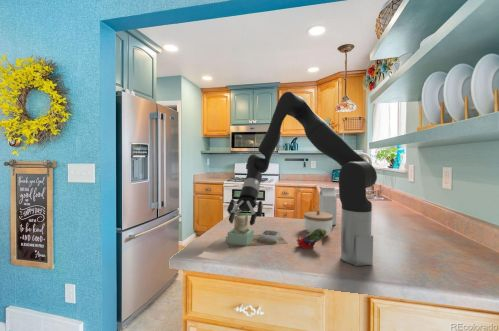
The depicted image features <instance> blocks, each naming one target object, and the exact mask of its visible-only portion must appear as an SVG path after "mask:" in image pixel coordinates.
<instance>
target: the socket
mask: <svg viewBox="0 0 499 331" xmlns="http://www.w3.org/2000/svg"><path fill="white" fill-rule="evenodd" d="M254 230H255V229H254V228H248V232H247V233H246V234H242V233H234V228H232V229H231V230H229V231H228V232H227V236H226V237H227V240H226V243H230V244H237V245H245V246H246V247H248V246H247V245H248V244H249V243H250V242H251V241H252V240H253V239H254V235H255V234H254Z"/></svg>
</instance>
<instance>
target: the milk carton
mask: <svg viewBox="0 0 499 331" xmlns="http://www.w3.org/2000/svg"><path fill="white" fill-rule="evenodd" d="M335 189H336V188H335V186H334V187H332V186H331V187H327V186H321V187H320V191H319V195H318V198H319V199H318V210H320V212H325V213H329V214H331V215H333V224H332V226H333V225H334V226H335V225H337V208H338V207H337V206H338V205H337V204H338V202H337V201H338V198H337V197H338V196H337V193H336V190H335Z"/></svg>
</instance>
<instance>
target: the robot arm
mask: <svg viewBox="0 0 499 331" xmlns="http://www.w3.org/2000/svg"><path fill="white" fill-rule="evenodd" d="M287 116H289V117H292V118H294V119H295V120H297V122H299V124H300V125H301V126H302V127H303V129H304V133H305V136H306V138H307V139H308V140H309V142H310V143H311V144H312V145H313V146H314V147H315V148H316V149H317V150H318V151H319V152H321V153H322V154H324V155H325V156H327V157H328V158H330V159H332V160H333V161H335V162H336V163H337V164H339V166H341V167H340V169H339V174H338V191H339V192H338V195H339V200H340V202H341V203H340V204H341V228H340V230H341V234H340V235H341V236H340V237H341V239H340V242H341V244H340V258H341V260H343V262H345V263H347V264H350V265H353V266H354V267H360V266H361V267H362V266H371V265H373V259H374V258H373V257H374V236H373V235H372V219H373V218H372V214H373V212H372V210H373V205H372V202H371V200H369V199H368V198H367V188H370V187H372V186H374V185H376V182H377V179H378V173H377V171H376V169H375V167H374V166H373V165H372V164H371V163H370V162H369V161H367V160H366V159H365V158H364V157H363V156H361V155H360V154H358V153H357V152H356V151H355V150H354V149H353V148H352V147H351V146H349V144H348V143H347V142H346V141H345V140H344V139H343V138H342V137H341V136H340V135H339V134H338V133H337V132H336V130H334V129H333V128H332V127H331V125H329V124H328V122H326V121H325V120H324V119H323V118H321V117H320V116H319V115H318V114H317V113H316V112H315V111H313V109H312V108H311V107H310V105H309V104H308V103H307V102H306V100H305V99H304V98H303V97H302V96H300V95H298V94H296V93H294V92H291V91H286V92H283V94H282V95H281V96H280V97H279V99H278V100H277V103H276V106H275V109H274V112H273V115H272V117H271V120H270V123H269V126H268V129H267V131H266V133H265V134H264V137H263V139H262V140H261V143H260V144H259V146H258V149H257V150H258V152H259V153H260V154H262V156H264V157H261V156H259V155H257V154H255V153H254V154H251V155H249V157H248V158H247V160H246V161H247V162H246V168H247V169H246V172H247V173H246V176H245V179H244V181H243V184H242V188H241V191H240V193H239V196H238V200H234V199H233V198H232V199H231V200H230V202H229V204H228V207H227V209H226V211H227V213H228V215H229V216H228V221H229V224H233V223H234V217H235V216H236V215H238V214H240V212H243V213H244V212H246V213H249V212H250V213H251V215H250V220H249V225H250V226H253V225H255V222H256V219H257V217H262V213H263V209H264V208H263V207H264V205H263V201H262V200H259V201H258V200H257V199H258V197H259V193H260V188H261V183H262V179H263V176H262V174H265V173H266V172H267V171H268V170H269V166H270V163H271V162H270V161H271V158H272V155H273V153H274V151H275V149H276V147H278V145H279V142H280V137H281V130H282V125H283V122H284V120H285V118H286V117H287ZM255 207H257V211H255Z"/></svg>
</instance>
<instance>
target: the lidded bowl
mask: <svg viewBox="0 0 499 331" xmlns="http://www.w3.org/2000/svg"><path fill="white" fill-rule="evenodd" d="M303 221H304V227H305V230H306V232H308V234H309V233H312V232H314V231H315V230H316V229H319V228H321V229H324V230H326V235H325V237H326V236H327V235H329V233H330V232H331V231H332V229H333V228H332V227H333V225H332V224H333V215H331V214H329V213H325V212H320V210H319V209H317V210H316V211H307V212H304V214H303Z"/></svg>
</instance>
